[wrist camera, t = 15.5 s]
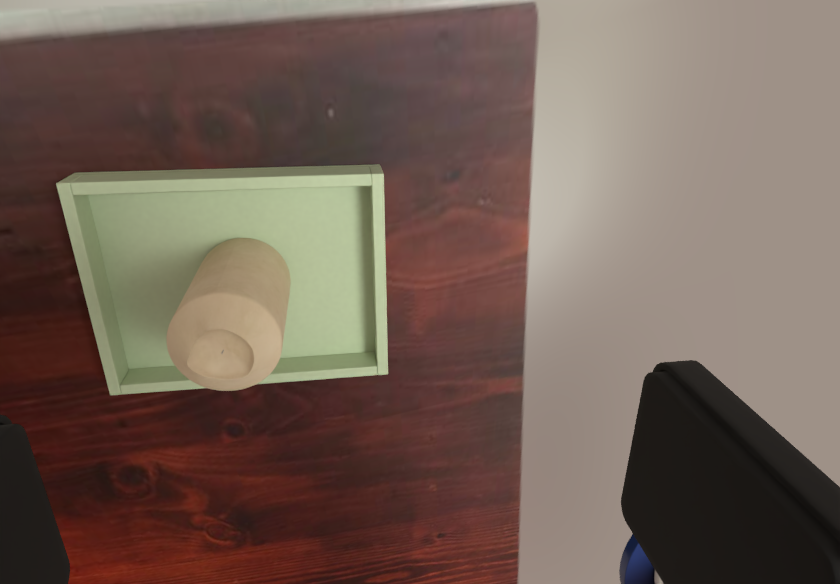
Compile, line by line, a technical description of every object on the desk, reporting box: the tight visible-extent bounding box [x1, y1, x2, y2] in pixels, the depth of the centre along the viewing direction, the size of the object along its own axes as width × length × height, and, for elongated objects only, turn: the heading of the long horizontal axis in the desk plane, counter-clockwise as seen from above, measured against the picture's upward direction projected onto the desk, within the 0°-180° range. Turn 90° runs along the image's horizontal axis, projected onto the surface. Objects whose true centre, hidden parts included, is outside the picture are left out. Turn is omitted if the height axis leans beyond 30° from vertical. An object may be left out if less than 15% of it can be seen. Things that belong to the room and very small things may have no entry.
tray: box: [56, 164, 388, 395], centre depth 36 cm, size 17×13×3 cm
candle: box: [166, 238, 291, 391], centre depth 32 cm, size 6×6×10 cm
